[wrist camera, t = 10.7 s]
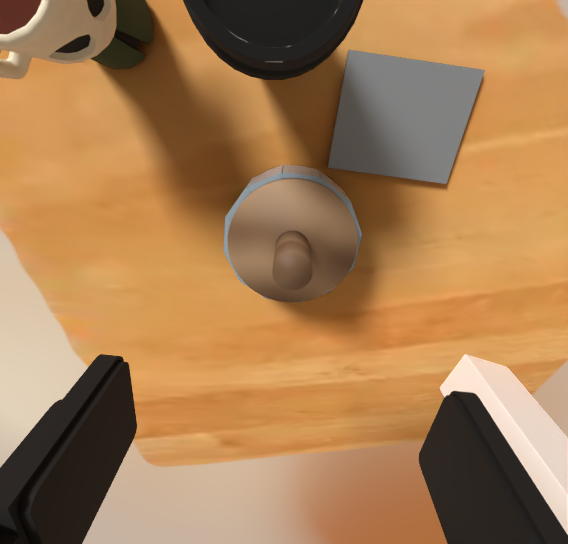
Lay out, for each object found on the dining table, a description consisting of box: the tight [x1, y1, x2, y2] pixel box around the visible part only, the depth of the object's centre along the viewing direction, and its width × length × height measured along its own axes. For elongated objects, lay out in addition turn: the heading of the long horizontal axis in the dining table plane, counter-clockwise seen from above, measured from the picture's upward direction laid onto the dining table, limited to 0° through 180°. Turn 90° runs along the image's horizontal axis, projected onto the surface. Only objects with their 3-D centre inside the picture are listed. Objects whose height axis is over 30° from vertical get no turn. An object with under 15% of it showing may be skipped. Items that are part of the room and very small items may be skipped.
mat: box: [327, 50, 485, 184], centre depth 28 cm, size 11×9×1 cm
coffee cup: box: [183, 0, 363, 80], centre depth 19 cm, size 8×8×15 cm
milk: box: [440, 354, 568, 535], centre depth 31 cm, size 6×6×22 cm
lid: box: [228, 178, 358, 302], centre depth 25 cm, size 11×11×6 cm
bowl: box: [224, 165, 362, 303], centre depth 30 cm, size 12×12×5 cm
